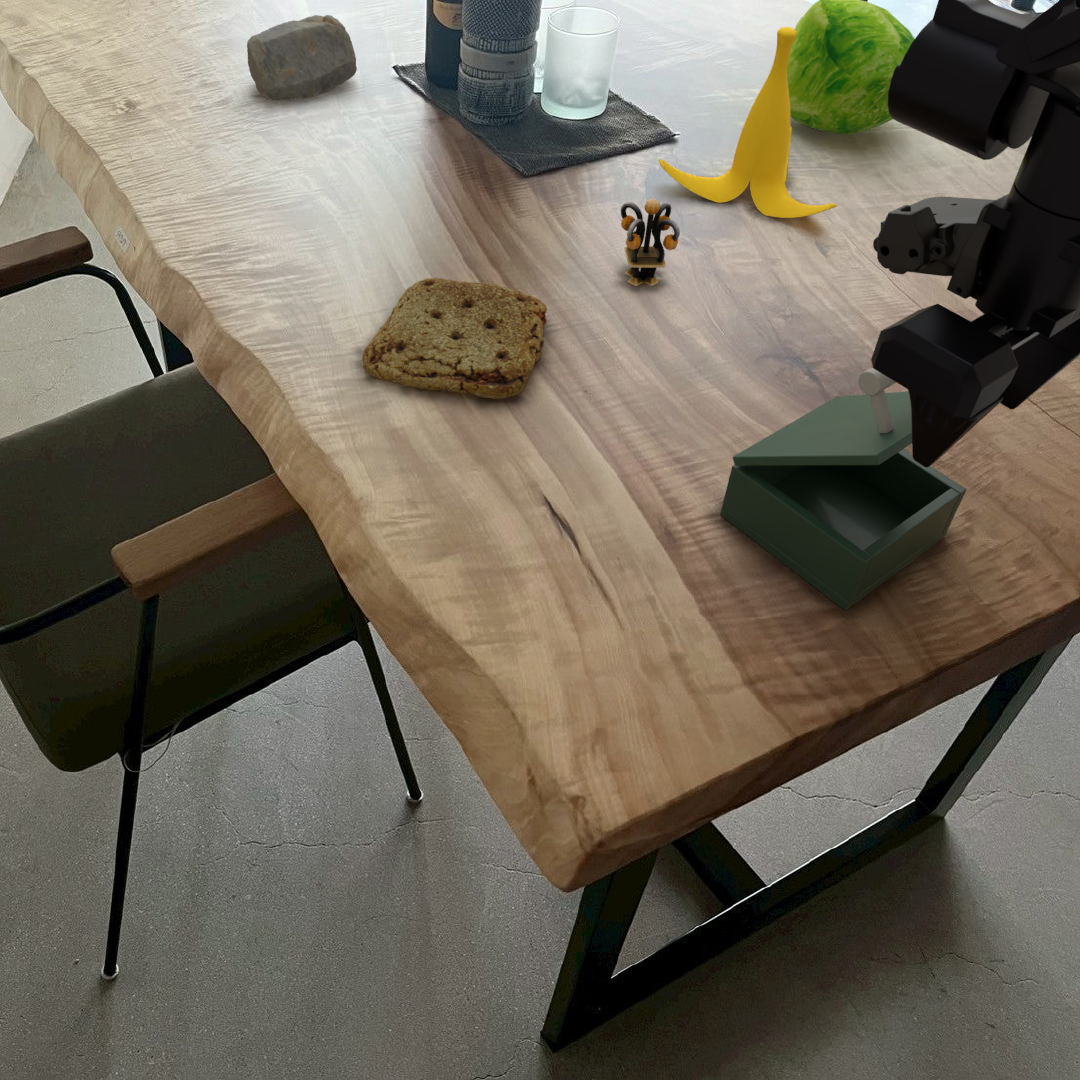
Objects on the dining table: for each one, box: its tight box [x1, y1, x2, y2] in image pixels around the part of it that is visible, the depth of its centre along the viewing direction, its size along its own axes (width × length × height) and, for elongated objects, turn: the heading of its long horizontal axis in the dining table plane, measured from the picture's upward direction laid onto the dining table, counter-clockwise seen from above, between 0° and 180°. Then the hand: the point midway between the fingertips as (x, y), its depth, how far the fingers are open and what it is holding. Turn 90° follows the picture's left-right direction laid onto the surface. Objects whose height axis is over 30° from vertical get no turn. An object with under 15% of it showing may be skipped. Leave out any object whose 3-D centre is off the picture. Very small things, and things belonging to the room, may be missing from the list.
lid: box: [732, 366, 912, 466], centre depth 70 cm, size 12×12×5 cm
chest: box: [720, 448, 967, 611], centre depth 75 cm, size 12×12×5 cm
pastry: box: [361, 277, 548, 400], centre depth 88 cm, size 17×17×3 cm
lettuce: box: [787, 0, 916, 136], centre depth 121 cm, size 15×20×14 cm
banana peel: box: [658, 26, 838, 219], centre depth 105 cm, size 17×19×17 cm
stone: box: [246, 14, 358, 101], centre depth 121 cm, size 12×8×8 cm, turn 125°
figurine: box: [620, 198, 681, 287], centre depth 96 cm, size 5×5×8 cm
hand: (965, 433), depth 64 cm, fingers open, 9 cm apart
